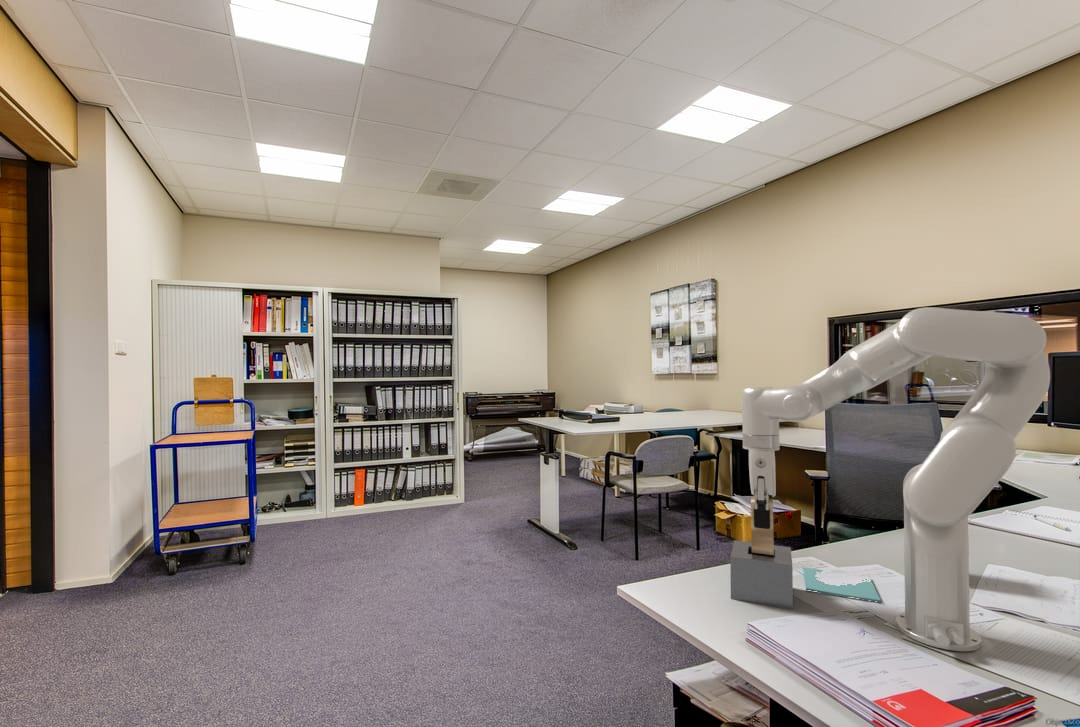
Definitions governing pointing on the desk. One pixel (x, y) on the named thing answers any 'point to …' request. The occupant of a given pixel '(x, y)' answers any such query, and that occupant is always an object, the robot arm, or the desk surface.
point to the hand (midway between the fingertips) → (762, 523)
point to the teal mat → (840, 587)
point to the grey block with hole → (762, 575)
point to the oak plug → (762, 533)
